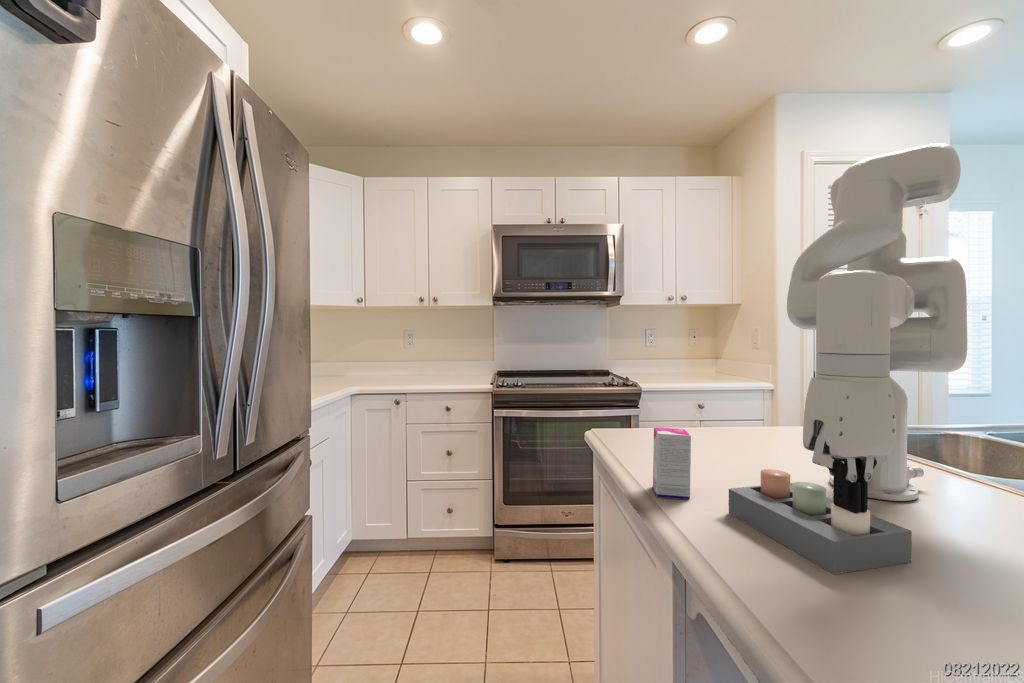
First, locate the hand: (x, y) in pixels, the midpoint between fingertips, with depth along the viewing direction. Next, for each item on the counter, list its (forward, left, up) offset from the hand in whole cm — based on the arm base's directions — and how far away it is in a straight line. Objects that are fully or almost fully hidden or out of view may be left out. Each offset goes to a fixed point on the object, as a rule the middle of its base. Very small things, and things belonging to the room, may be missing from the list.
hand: (849, 508), depth 55 cm
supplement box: (+10, -25, -7) cm, 28 cm away
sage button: (0, -6, -3) cm, 7 cm away
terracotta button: (0, -12, -3) cm, 13 cm away
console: (0, -6, -6) cm, 9 cm away
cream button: (0, 0, -4) cm, 4 cm away
